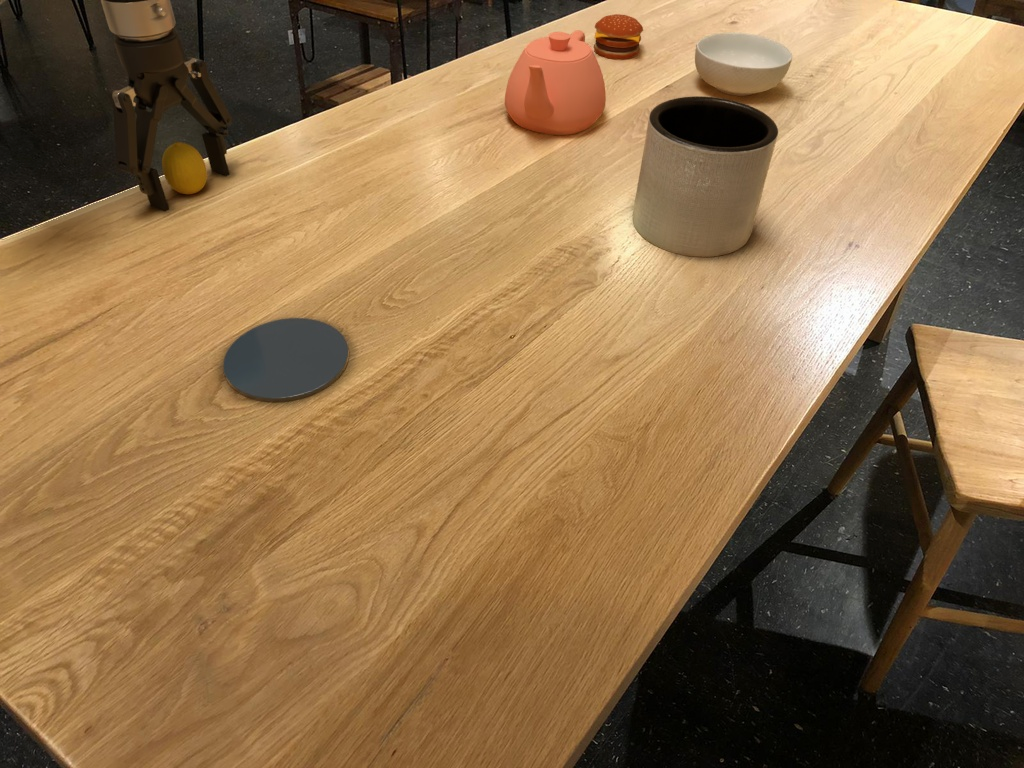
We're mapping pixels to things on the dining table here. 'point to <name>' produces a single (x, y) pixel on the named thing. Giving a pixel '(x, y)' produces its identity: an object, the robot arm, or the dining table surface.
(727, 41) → the cereal bowl
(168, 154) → the lemon
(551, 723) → the dining table surface
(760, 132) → the planter
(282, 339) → the plate
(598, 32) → the hamburger
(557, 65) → the teapot
